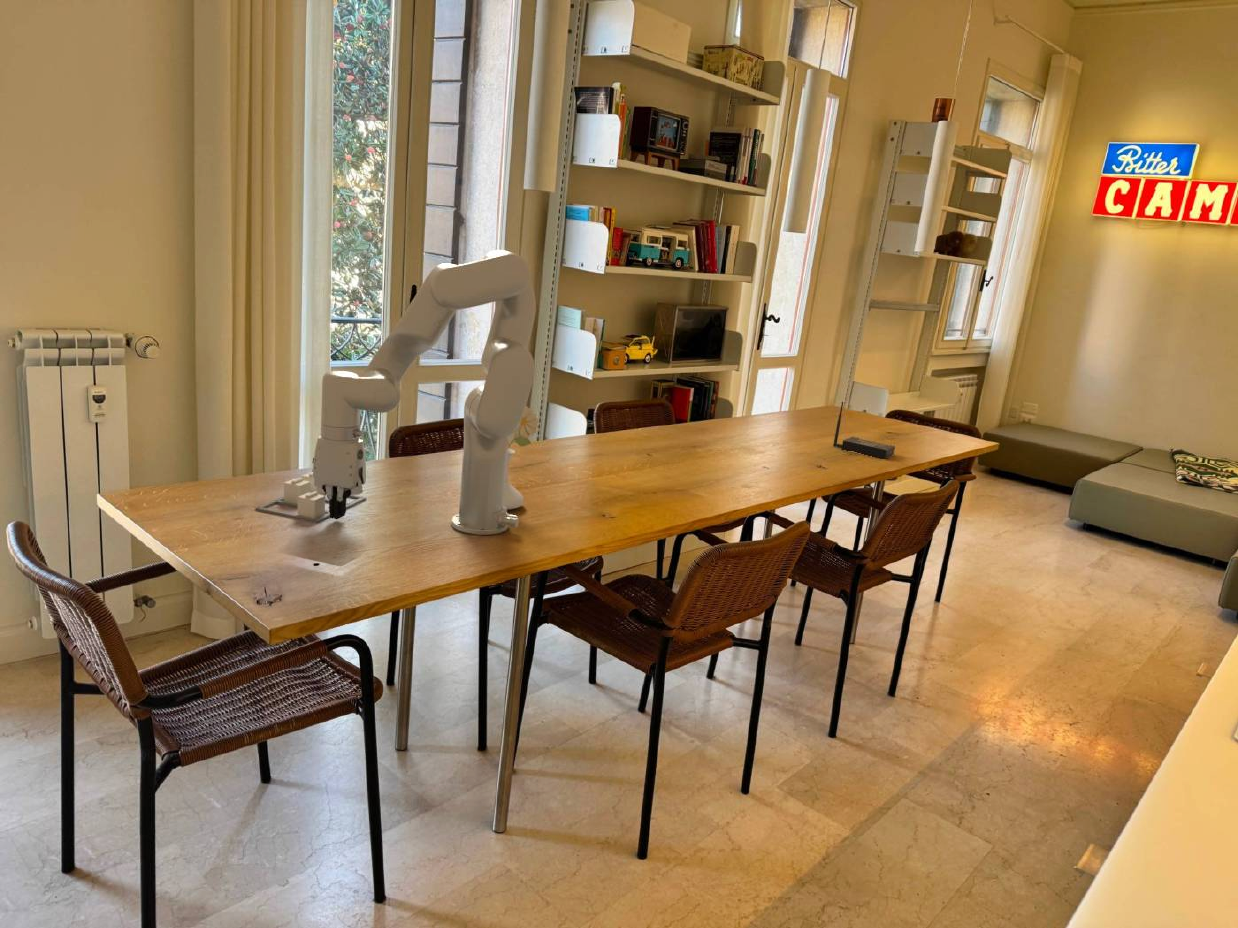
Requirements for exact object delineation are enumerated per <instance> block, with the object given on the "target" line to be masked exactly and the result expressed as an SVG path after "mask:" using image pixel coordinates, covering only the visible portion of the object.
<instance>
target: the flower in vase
mask: <svg viewBox="0 0 1238 928" xmlns="http://www.w3.org/2000/svg"><path fill="white" fill-rule="evenodd" d="M538 427H539V420H538V418H537V415H536V413H534V411H533V409H532V408H530V407H528V406H527V405H526V406H525V410H524V413H523V416H522V419H521V422H520V424H519V426H518V428H517V430H516V431H515V432H514V433H513V434H512V435H514V437H513V438H512V441H510V443H509V442H508V453H507V463H506V475H505V487H504V499H503V507H507V511H508V510H514V509H517V508H520V507H522V506H523V504H525V498H524V496H523V495H522V493H521V492H520V491H519V490H518V489H516V488H515V486H513V485H512V484H511V483H510V481H509V478H508V470H509V466H510V465H509V464H510V462H511V459H512V457H513V455H514V454H515V453H516V451H515V450H514V449H511V448H510V447H511V446H512V445H513V443H514V442H516V444H517V445H518V446H520V447H526V446H529V445H531V444H532V442H531V440H530V439H529V437H530V436H533V435H534V434H536V433H537V429H538Z"/></svg>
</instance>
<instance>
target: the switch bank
mask: <svg viewBox="0 0 1238 928" xmlns="http://www.w3.org/2000/svg"><path fill="white" fill-rule="evenodd" d="M349 498H351V499H355V500H353V501H350V502H349V503H348V502H346V510H348V509H350V508H353V507H354V506H357V505H359V504H361V503H363V502H364V501H367V497H364V496H362V495H361V496H360V495H351V496H349ZM349 498H348V499H349ZM327 503H328V504H329V499H328V498H325V504H327ZM275 505H282V506H286V507H290V508H294V509H295V508H296V509H298V504H294V503H289V502H285V501H284V495H283V496H280V497H278V498H275V499H273V500H271V501H268V502H266V503H263V504H261V505H258V506H256V507H255V509H254V510H255V511H259V512H263V513H268V514H271V515H276V516H281V517H286V518H291V519H296V520H300V521H305V522H309V523H313V524H320V523H321V522H323V521H326V520H328V519H331V518H330V512H329V510H326V509H325V515H323V516H321V517H319V518H316V519H313V518H309V517H304V516H299V515H298V514H294V513H289V512H284V511H279V510H275V509H270V507H272V506H275Z"/></svg>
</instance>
